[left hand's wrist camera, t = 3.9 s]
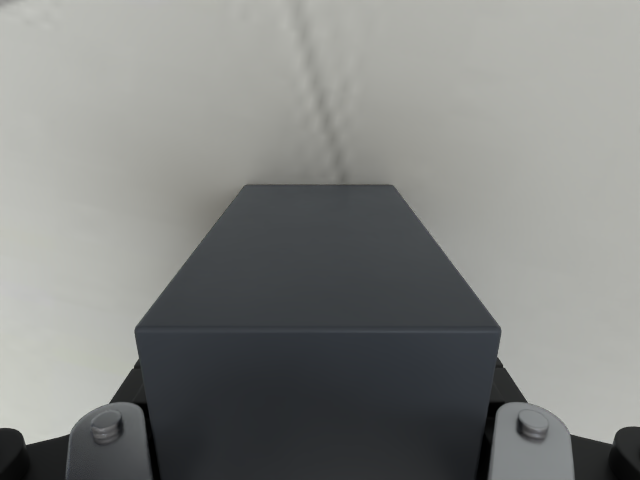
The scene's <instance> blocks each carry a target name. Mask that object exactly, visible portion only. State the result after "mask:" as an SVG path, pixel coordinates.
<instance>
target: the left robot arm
mask: <svg viewBox="0 0 640 480" xmlns="http://www.w3.org/2000/svg"><path fill="white" fill-rule="evenodd" d="M0 480H161V479H160V474H159V468H158V462H157V457H156V451H155V445H154V440H153V434H152V428H151V423H150V417H149V411H148V406H147V400H146V394H145V389H144V383H143V377H142V372H141V366H140V360H139V359H138V361H137V362H136V364H135V365H134V369H132V370H131V371H130V373H129V374H128V376H127V377H126V379H125V380H124V382H123V383H122V385H121V386H120V388H119V389H118V391H117V392H116V394H115V395H114V397H113V398H112V400H111V401H110V403H109V404H107V405H104V406H101V407H99V408H96V409H94V410H93V411H91V412H89V413H88V414H86V415H85V416H83V417H82V418H81V419H80V420H79V421H78V422H77V423H76V424H75V426H74V427H73V428H72V430H71V433H70V434H68V435H66V436H62V437H59V438H54V439H50V440H46V441H42V442H37V443H33V444H29V445H26V444H25V441H24V438H23V436H22V434H21V433H20V432H19V431H17V430H15V429H11V428H0ZM476 480H640V427H625V428H622V429H620V430H619V431H618V432H617V433H616V435H615V438H614V441H613V444H608V443H604V442H599V441H595V440H591V439H587V438H582V437H578V436H575V435H571V434H570V433H569V430H568V428H567V427H566V426H565V424H564V423H563V422H562V421H561V420H560V419H559V418H558V417H557V416H555V415H554V414H552V413H551V412H549V411H547V410H546V409H544V408H541V407H539V406H536V405H533V404H529V403H528V402H527V401H526V399H525V398H524V396H523V395H522V393H521V392H520V390H519V389H518V387H517V386H516V384H515V383H514V381H513V380H512V378H511V377H510V375H509V374H508V372H507V371H506V369H505V368H503V364H502V363H501V361H500V360H499V358H498V357H497V360H496V366H495V372H494V377H493V383H492V389H491V395H490V400H489V406H488V412H487V418H486V423H485V429H484V435H483V441H482V446H481V452H480V458H479V464H478V469H477V475H476Z"/></svg>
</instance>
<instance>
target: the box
mask: <svg viewBox="0 0 640 480" xmlns="http://www.w3.org/2000/svg"><path fill="white" fill-rule="evenodd" d="M500 337H501V328H500V326H499V325H498V324H497V322H496V321H495V320H494V318H493V317H492V316H491V314H490V313H489V312H488V310H487V309H486V308H485V306H484V305H483V304H482V302H481V301H480V300H479V298H478V297H477V296H476V294H475V293H474V292H473V290H472V289H471V288H470V286H469V285H468V284H467V282H466V281H465V280H464V278H463V277H462V276H461V275H460V273H459V272H458V271H457V269H456V268H455V267H454V265H453V264H452V263H451V261H450V260H449V259H448V257H447V256H446V255H445V253H444V252H443V251H442V249H441V248H440V247H439V245H438V244H437V243H436V241H435V240H434V239H433V237H432V236H431V235H430V233H429V232H428V231H427V229H426V228H425V227H424V225H423V224H422V223H421V222H420V220H419V219H418V218H417V216H416V215H415V214H414V212H413V211H412V210H411V208H410V207H409V206H408V204H407V203H406V202H405V200H404V199H403V198H402V196H401V195H400V194H399V192H398V191H397V190H396V188H395V187H394V186H393V185H245V186H244V187H243V188H242V190H241V191H240V192H239V194H238V195H237V196H236V198H235V199H234V200H233V201H232V203H231V204H230V205H229V207H228V208H227V209H226V210H225V212H224V213H223V214H222V216H221V217H220V218H219V220H218V221H217V222H216V223H215V225H214V226H213V227H212V229H211V230H210V231H209V233H208V234H207V235H206V236H205V238H204V239H203V240H202V242H201V243H200V244H199V246H198V247H197V248H196V249H195V251H194V252H193V253H192V255H191V256H190V257H189V258H188V260H187V261H186V262H185V264H184V265H183V266H182V268H181V269H180V270H179V271H178V273H177V274H176V275H175V277H174V278H173V279H172V281H171V282H170V283H169V284H168V286H167V287H166V288H165V290H164V291H163V292H162V293H161V295H160V296H159V297H158V299H157V300H156V301H155V303H154V304H153V305H152V306H151V308H150V309H149V310H148V312H147V313H146V314H145V316H144V317H143V318H142V319H141V321H140V322H139V323H138V325H137V326H136V328H135V338H136V343H137V349H138V355H139V360H140V366H141V372H142V377H143V383H144V389H145V394H146V400H147V406H148V411H149V417H150V423H151V428H152V434H153V440H154V445H155V451H156V457H157V462H158V468H159V474H160V479H161V480H476V475H477V469H478V464H479V458H480V452H481V446H482V441H483V435H484V429H485V423H486V418H487V412H488V406H489V400H490V395H491V389H492V383H493V377H494V372H495V366H496V360H497V354H498V349H499V343H500Z"/></svg>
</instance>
